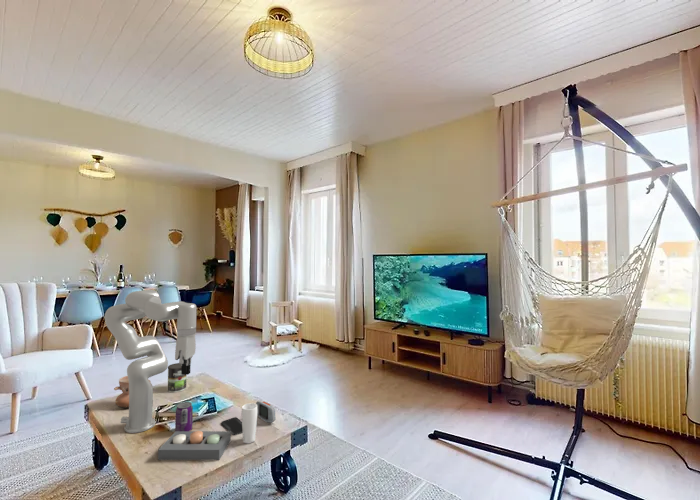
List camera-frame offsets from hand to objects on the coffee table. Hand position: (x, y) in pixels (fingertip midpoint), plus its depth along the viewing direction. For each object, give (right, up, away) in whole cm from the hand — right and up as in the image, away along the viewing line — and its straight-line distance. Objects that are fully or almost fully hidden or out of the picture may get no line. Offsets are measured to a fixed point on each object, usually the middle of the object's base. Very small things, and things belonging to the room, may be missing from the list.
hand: (185, 373), depth 149 cm
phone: (+17, -30, +12) cm, 37 cm away
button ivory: (+1, -27, -7) cm, 28 cm away
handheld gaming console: (+30, -30, +20) cm, 47 cm away
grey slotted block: (+8, -29, -7) cm, 31 cm away
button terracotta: (+8, -26, -7) cm, 28 cm away
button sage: (+15, -28, -7) cm, 32 cm away
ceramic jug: (-45, -29, +35) cm, 64 cm away
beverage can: (-5, -29, +8) cm, 31 cm away
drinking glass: (+28, -30, 0) cm, 41 cm away
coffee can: (-32, -29, +55) cm, 70 cm away
